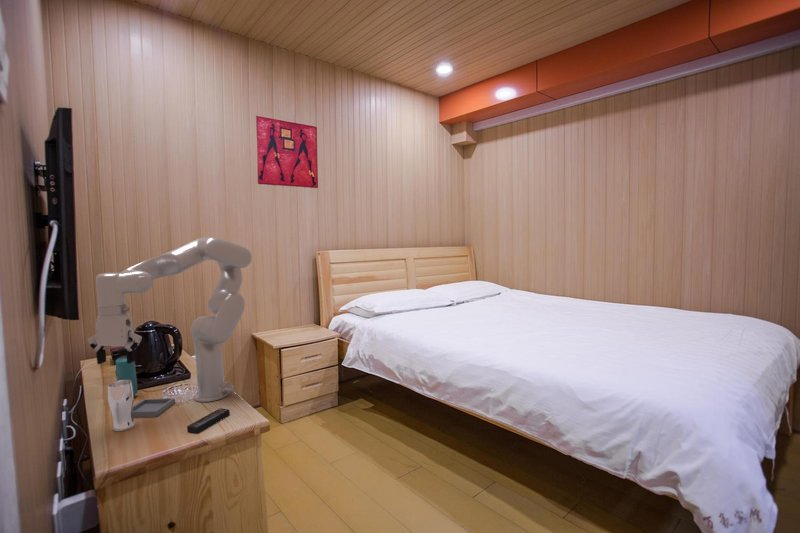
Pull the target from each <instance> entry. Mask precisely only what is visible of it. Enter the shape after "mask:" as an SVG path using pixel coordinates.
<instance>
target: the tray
mask: <svg viewBox="0 0 800 533" xmlns="http://www.w3.org/2000/svg"><path fill="white" fill-rule="evenodd" d="M175 400H176V399H175V398H174V397H172V398H171V397H166V398H163V397H162V398H143V399H142V400H141V401H139V402H137V403H136V404H133V408H132V416H133V419H135V418H157V417H159V416H160V415H162V414H163V413H164V412H165V411H167V410H168V409H170V408H171V407H172V406H174V405H175V404H176V401H175Z"/></svg>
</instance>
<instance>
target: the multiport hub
mask: <svg viewBox="0 0 800 533" xmlns="http://www.w3.org/2000/svg"><path fill="white" fill-rule="evenodd" d="M230 415H231V413H230V409H227V408H218V409H217V410H214V411H211V412H210V413H209V414H207V415H205V416H203V417H201V418H200V419H198V420H196V421H194V422H191V424H188V425H187V426H186V428H187V429H186V431H187V433H189V434H197V435H198V434H200V433H202V432H203V431H205V430H207V429H208V427H209V428H210V427H212V426H214V425H215V424H217V423H219V422H220V420H221V419H222V420H223V418H224V419H225V417H226V418H227V417H229V416H230ZM222 420H221V421H222ZM218 421H219V422H218ZM216 422H217V423H216ZM213 424H214V425H213Z"/></svg>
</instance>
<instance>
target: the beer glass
mask: <svg viewBox="0 0 800 533" xmlns="http://www.w3.org/2000/svg"><path fill="white" fill-rule="evenodd" d="M107 400H108V405H109V409H110V412H111V415H112V418H113V419H112V420H113V421H112V422H113V423H112V431H113V432H123V431H127V430H129V429H132V428H133V427H135V420H134V418H133V416H132V408H133V406H134V395H133V388H132V382H131V380H121V381H117V380H116V381H112V382H111V383H109V384H108V385H107Z"/></svg>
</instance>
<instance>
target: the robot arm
mask: <svg viewBox="0 0 800 533" xmlns="http://www.w3.org/2000/svg"><path fill="white" fill-rule="evenodd" d="M252 257H253V256H252V254H251V251H250V250H249V249H248V248H246V247H245V246H243V245H239V244H237V243H233V242H231V241H228V240H225V239H222V238H219V237H214V236H213V237H212V236H210V237H209V236H207V237H198V238H197V239H194V240H192V241H190V242H188V243H185V244H183V245H181V246H179V247H176V248H175V249H172V250H170V251H168V252H165V253H162V254H160V255H158V256H155V257H152V258H149V259H146V260H144V261H141V262H140V263H139V262H138V263H136V264H134V265H132V266H130V267H128V268H126V269H124V270H121V272H104V273H99V274H97V275H96V277H95V287H96V300H97V301H96V302H97V309H98V310H97V312H98V315H97V316H96V321H95V333H94V334H93V335H91V336H89V337H88V338H86V340H87V342H88V344H89V345H90V347H91V349H93V352H94V353H95V354H96V363H97V365H101V364H103V363H105V362H107V352H106V349H105V348H106V347H123V348H126V349H127V350H128V351H127V352H126V355H125V356H127V363H128V364H130V363H132V362H136V350H137V348H138V347H139V346H140V344H141V342H142V340H143V337H142V335H139V334H137V333H135V331H134V324H133V321H132V318H131V315H130V313H127V312H129V311H130V307H129V306H127V301H126V294H143V293H146V292H148V291H149V290H151V289H152V287H153V285H154V280H156V279H159V278H164V277H169V276H175V275H179V274H181V273H184V272H186V271H187V270H188V271H189V269H192V268H193V267H195V266H197V265H199V264H202V263H203V262H205V261H216V262H217V264H218V267H219V270H220V276H219V279H218V281H217V284H216V286H215V287H214V289H213V290H212V292H211V293H212V294H211V295H210V296H209V299H208V301H207V309H208V310H209V312H210V313H212V314H214V315H215V316H214V315H213V316H212V315H202V316H198V317H197V318H195V320H194V321H193V322H192V324H191V326H190V333H191V334H190V335H191V338H192V343H193V347H194V355H195V368H196V379H197V380H196V382H197V383H196V384H197V392H196V393H195V394H194V395H193V399H194V401H196V402H199V403H208V402H214V401H219V400H221V399H224V398H225V397H227V396H228V395H229V394H230V393H234V392H235V390H236V389H235V385H233V384H231V385H228V381H225V373H224V372H225V371H224V359H223V358H224V356H223V349H222V348H223V347H222V344H224V343H227V341H228V340H229V339H230V338H231V337H232V335H233V334H234V332H235V329H236V328H237V326H238V324H239V322H240V320H241V317H242V315H243V313H244V310H245V299H244V296H242V295H241V294H240V293H239V291H240V288H241V286H242V283H243V273H242V269H245V268H247V267H248V266H250V264H251V262H252V259H253V258H252Z"/></svg>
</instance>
